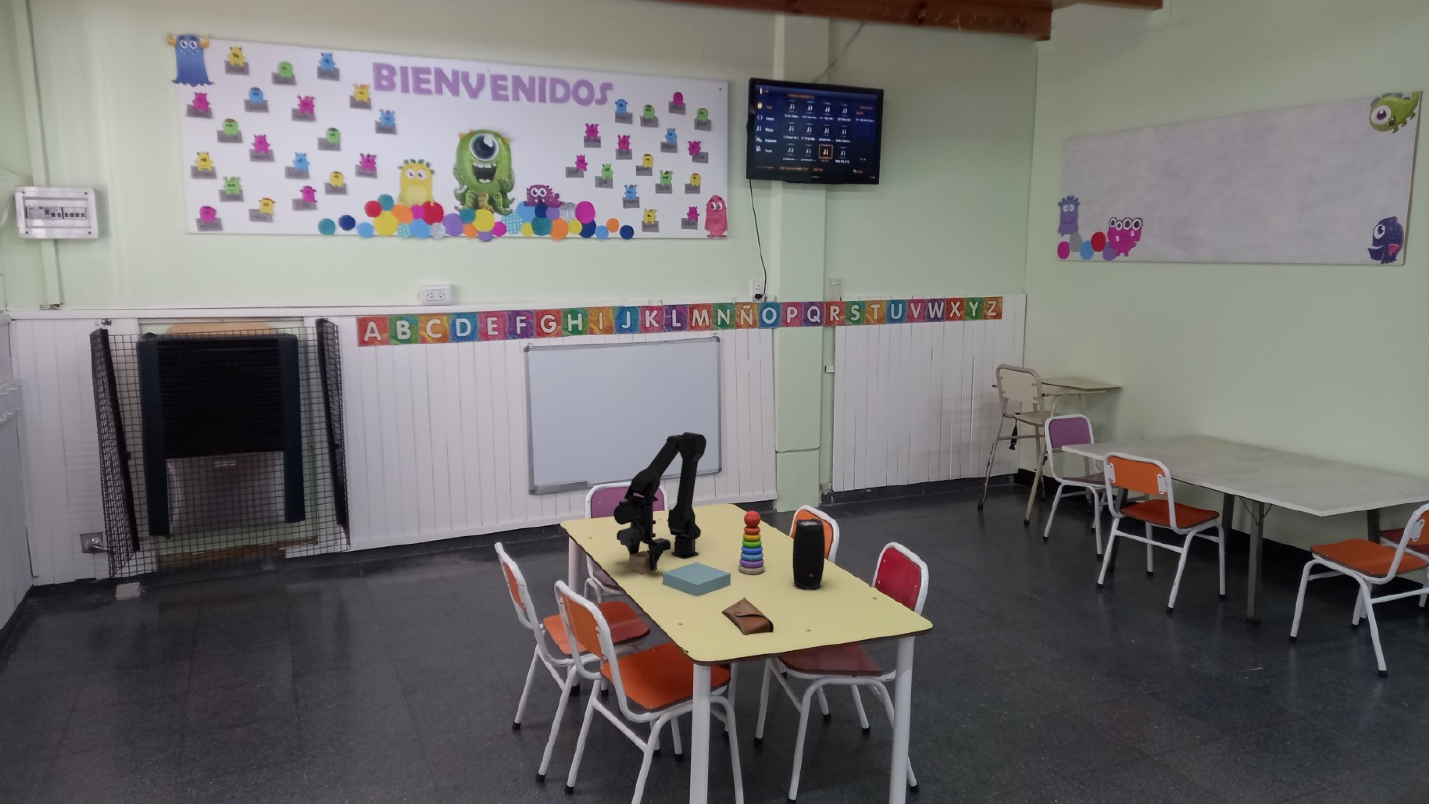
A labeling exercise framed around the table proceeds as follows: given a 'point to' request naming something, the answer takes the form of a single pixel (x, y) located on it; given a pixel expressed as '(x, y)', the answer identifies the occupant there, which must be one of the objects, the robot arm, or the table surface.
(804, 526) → the portable speaker
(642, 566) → the walnut block
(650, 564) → the robot arm
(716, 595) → the table surface
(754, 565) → the stacking toy
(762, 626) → the sunglasses case
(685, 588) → the teal base box
